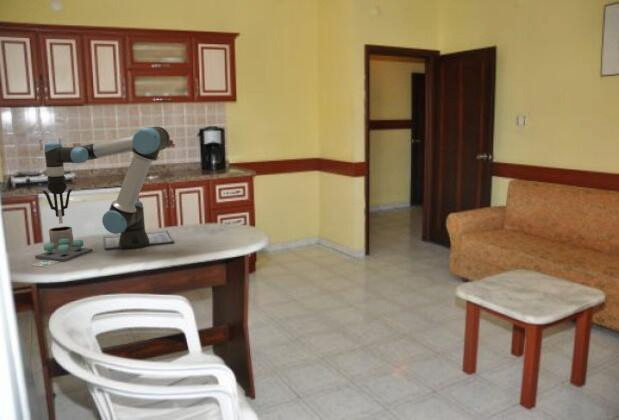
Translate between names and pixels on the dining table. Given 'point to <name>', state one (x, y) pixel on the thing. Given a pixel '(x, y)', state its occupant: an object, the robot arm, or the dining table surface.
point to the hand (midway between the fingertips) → (61, 222)
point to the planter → (61, 235)
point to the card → (45, 263)
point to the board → (64, 257)
